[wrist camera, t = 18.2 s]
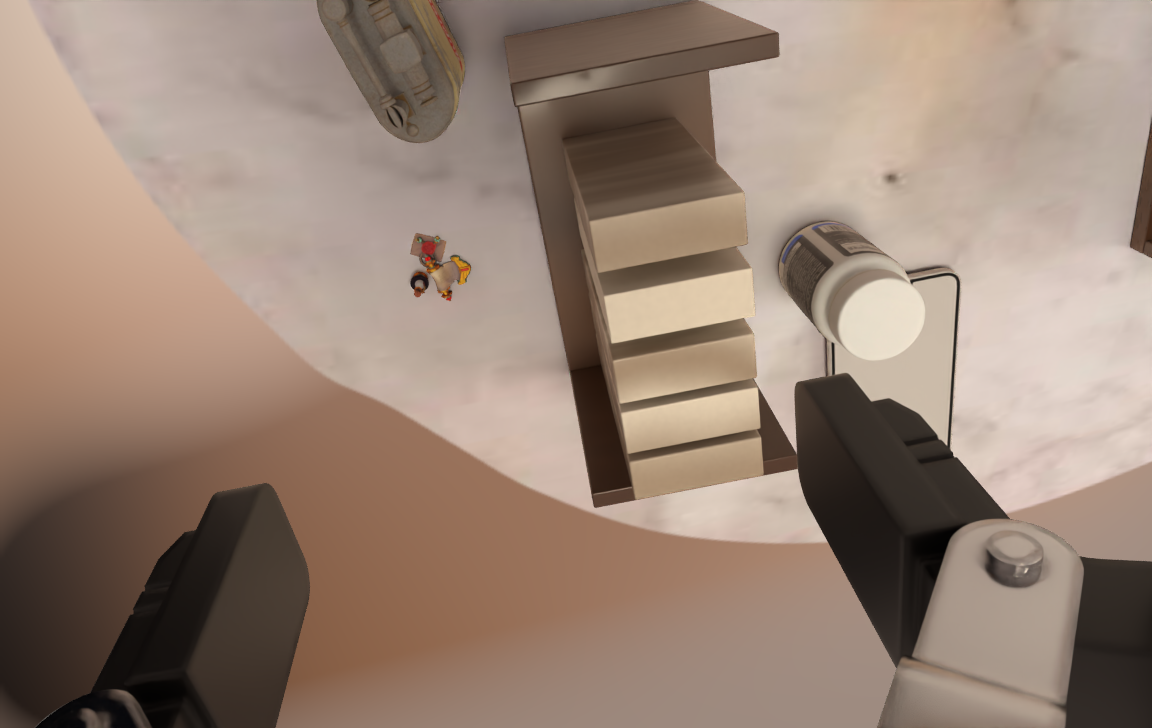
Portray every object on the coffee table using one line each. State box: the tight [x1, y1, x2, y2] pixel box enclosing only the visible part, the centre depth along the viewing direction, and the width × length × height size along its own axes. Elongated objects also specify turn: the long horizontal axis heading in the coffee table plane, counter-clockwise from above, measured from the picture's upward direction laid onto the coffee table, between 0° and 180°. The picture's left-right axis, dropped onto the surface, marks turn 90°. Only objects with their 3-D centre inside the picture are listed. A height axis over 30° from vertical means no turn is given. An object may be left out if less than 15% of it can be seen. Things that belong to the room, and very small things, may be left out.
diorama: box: [410, 233, 471, 301], centre depth 42 cm, size 3×4×2 cm
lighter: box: [317, 0, 465, 143], centre depth 33 cm, size 7×4×10 cm, turn 25°
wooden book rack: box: [504, 0, 798, 508], centre depth 36 cm, size 18×9×13 cm, turn 9°
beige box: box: [574, 198, 755, 343], centre depth 36 cm, size 2×6×12 cm, turn 99°
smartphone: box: [827, 268, 961, 450], centre depth 49 cm, size 7×1×15 cm
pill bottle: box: [779, 221, 925, 361], centre depth 41 cm, size 5×5×8 cm
